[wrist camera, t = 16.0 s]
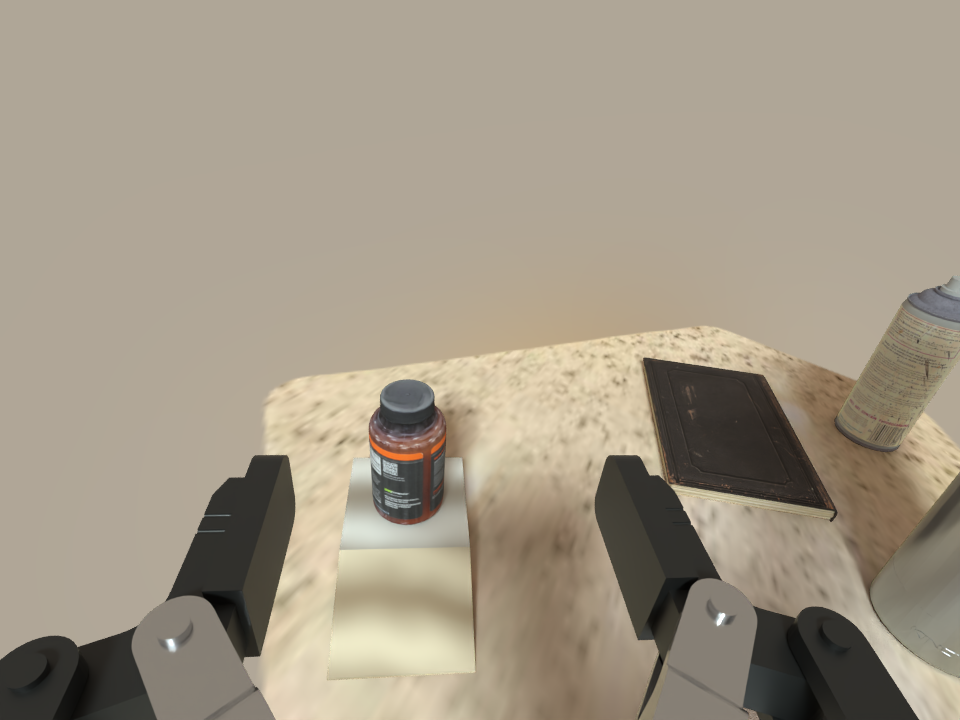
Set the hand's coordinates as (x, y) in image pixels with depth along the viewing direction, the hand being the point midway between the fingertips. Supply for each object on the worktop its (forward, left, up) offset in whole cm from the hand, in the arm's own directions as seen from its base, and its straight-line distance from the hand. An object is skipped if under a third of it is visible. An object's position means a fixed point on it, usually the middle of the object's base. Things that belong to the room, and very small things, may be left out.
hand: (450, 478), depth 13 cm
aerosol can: (-62, +13, -28) cm, 69 cm away
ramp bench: (-12, -14, -29) cm, 34 cm away
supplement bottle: (-14, -16, -25) cm, 33 cm away
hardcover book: (-48, 0, -29) cm, 56 cm away
